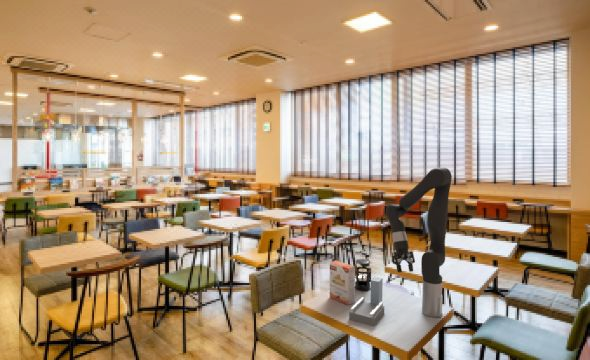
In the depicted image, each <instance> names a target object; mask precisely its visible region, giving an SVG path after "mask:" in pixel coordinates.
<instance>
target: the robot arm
mask: <svg viewBox="0 0 590 360" xmlns="http://www.w3.org/2000/svg"><path fill="white" fill-rule="evenodd" d="M452 178H453V176H452V172H451V171H450V169H449V168H446V167H434V168H432V169H430V171H429V172H427V174H426V175H425V176H424V177H423V178H422V180H420V182H418V183H417V185H415V186H414V187H413V188H412V189H410V190H409V191H408V192H407V193H405V194H404V195H403V196H402V197H400V198H399V201H398V204H388V205H387V206H386V208H385V214H386V218H387V221H388V223H389V224H390V228H391V234H392V243H393V247H394V249H393V250H394V252H393V251H392V252H391V259H392V264H393V265H395V266H396V271H397V273H403V271H402V265H401V263H402V261H405V262H406V263H407V267H408V271H409V272H410V273H411V272H412V273H413V272H414V266H413V265H414V263H416V260H415V255H414V252H413V250H411V251H409V248H410V246H409V241H408V236H407V233H406V226H405V223H404V221H402V220H400V218H402V217H403V216H405V215H406V213H408V211H410V210H409V209H411V208H412V207H413V206H414V205H416V204H417V203H419V202H420V200H422V199H423V197H424V196H425V195H426V194H427V193H428V192H430V191H431V190H434V192H433V193H434V194H433V197H432V199H431V202H430V204H429V206H428V210H427V219H426V225H427V229H428V233H429V237H430V241H429V242H430V243H429V250H428V251H424V252H423V254H422V255H421V270H420V271H421V276H422V301H421V302H422V303H421V304H422V305H421V306H422V307H421V311H422V314H423V315H425V316H427V317H430V318H440V317H441V316H442V313H443V276H442V275H441V274H440V273H441V272H440V267H442V266H443V265H444V264H445V262H446V233H447V223H448V210H449V209H448V208H449V207H448V206H449V195H450V189H451V185H452V180H453V179H452Z"/></svg>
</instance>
